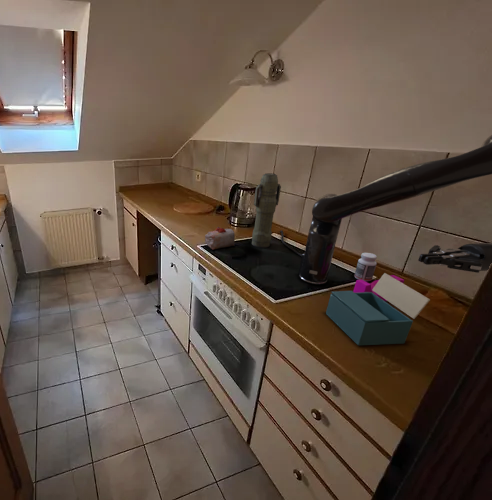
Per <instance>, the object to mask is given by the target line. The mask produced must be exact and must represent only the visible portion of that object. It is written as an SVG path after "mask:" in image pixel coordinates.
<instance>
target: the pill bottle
mask: <svg viewBox="0 0 492 500" xmlns="http://www.w3.org/2000/svg"><path fill="white" fill-rule="evenodd" d="M377 258H378V256H377V255H376V254H375V253H372V252H362V253H361V255H360V258H359V259H358V260H357V265H356V268H355V271H354V275H353V276H354V278H355V279H356V280H361V279H362V280H364V281H365V282H370V281H372V280H373V278H374V274H375V271H376V267H377V264H378V263H377V261H376V260H377Z"/></svg>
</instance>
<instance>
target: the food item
mask: <svg viewBox="0 0 492 500" xmlns="http://www.w3.org/2000/svg"><path fill="white" fill-rule="evenodd" d="M235 237H236V234H235V231H234V230H233V229H231V228H224V227H221V228H220V227H219V226H217V227H216V228H215V230H212V231H208V232H207V234H204V244H205V245H207V247H209V248H210V249H211V250H218V249H223V248H229V247H235V243H236V242H235V240H236V239H235Z"/></svg>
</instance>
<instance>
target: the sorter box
mask: <svg viewBox="0 0 492 500" xmlns="http://www.w3.org/2000/svg"><path fill="white" fill-rule="evenodd" d="M325 315H326V316H327V317H328V318H330V319H331V320H332V321H333V322H334V324H335V325H337V326H338V327H339V328H340V329H341V330H342V331H343V332H344V333H345V334H346V335H347V336H348V338H350V339H351V340H352V341H353V342H354V343H355V344H356V345H357V346H378V345H380V346H381V345H400V344H405V343H406V340H407V338H408V336H409V333H410V330H411V329H412V325H413V323H414V320H413V319H411V318H409V316H408V315H406V314H405V313H403V312H401V311H399V310H398V308H396V307H395V306H393V305H392V304H389V303H388V301H384V300H382V299H381V298H379V297H378V296H377V295H375V294H374V293H372V292H361V293H354V292H353V290H340V291H339V290H334V291H331V293H330V294H329V300H328V303H327V306H326V311H325Z"/></svg>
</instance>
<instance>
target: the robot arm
mask: <svg viewBox="0 0 492 500" xmlns="http://www.w3.org/2000/svg"><path fill="white" fill-rule="evenodd" d="M490 175H492V134H491V135H489V136H488V137H486V138H485V140H483V142H482V144H481V146H479V147H477V148H475V149H473V150H470V151H467V152H464V153H461V154H458V155H456V156H452V157H451V156H450V157H446V158H442V159H436V160H432V161H431V160H430V161H426V162H421V163H416V164H413V165H409V166H406V167H403V168H401V169H398V170H395V171H392V172H389V173H387V174H385V175H383V176H380V177H379V178H377V179H374V180H372V181H370V182H369V183H367V184H365V185H362V186H361V187H358V188H356V189H354V190H351V191H348V192H344V193H341V194H337V193H326V194H323V195H321V196H320V197H319V198H317V200H316V201H314V204H313V206H312V209H311V215H312V218H311V222H310V225H309V228H308V233H307V238H306V239H307V240H306V244H305V249H304V252H303V253H300V252H299V251H297V250H296V249H294V248H292V247H291V246H290V245H289V244H288V243H286V241H284V236H285V235H284V230H283V229H281V230H280V231H279V233H281V235H280V236H281V238H280V240H281V242H282V244H283V245H284V246H285V247H286V248H287V249H289V250H291V251H292V252H293V253H294V254H297V255H298V256H300V257H301V258H300V264H299V267H298V268H299V269H298V274H297V275H298V277H299V279H300V280H301V281H302V282H304V283H305V284H306V283H307V284H309V285H314V286H315V285H316V286H322V285H326V284H327V282H328V278H329V272H330V270H331V265H332V260H333V257H334V253H335V248H336V245H337V240H338V236H339V233H340V229H341V224H342V220H343V219H345V218H347V217H350V216H352V215H355V214H357V213H361V212H364V211H367V210H372V209H376V208H379V207H380V208H381V207H384V206H387V205H390V204H395V203H398V202H402V201H406V200H410V199H412V198H416V197H418V196H423V195H425V194H429V193H431V192H435V191H439V190H441V189H444V188H448V187H451V186H453V185H455V184H460V183H462V182H466V181H470V180H474V179H477V178H481V177H486V176H487V177H488V176H490ZM417 261H418V262H419V263H423V264H424V265H426V266H427V265H430V266H431V265H439V266H442V267H443V266H444V267H446V268H448V269H452V270H458V271H465V272H470V273H477V274H478V273H480V272H488V271H487V270H488V269H489V266H490V264H491V263H492V242H480V243H479V242H478V243H477V242H476V243H466V244H463V245H460V246H459V247H458V248H447V249H442V247H441V246H440V245H437V244H435V245H433V246H432V247H431V248H430V249H429V250H428V252H427V253H421V254H419V257H418V260H417Z"/></svg>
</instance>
